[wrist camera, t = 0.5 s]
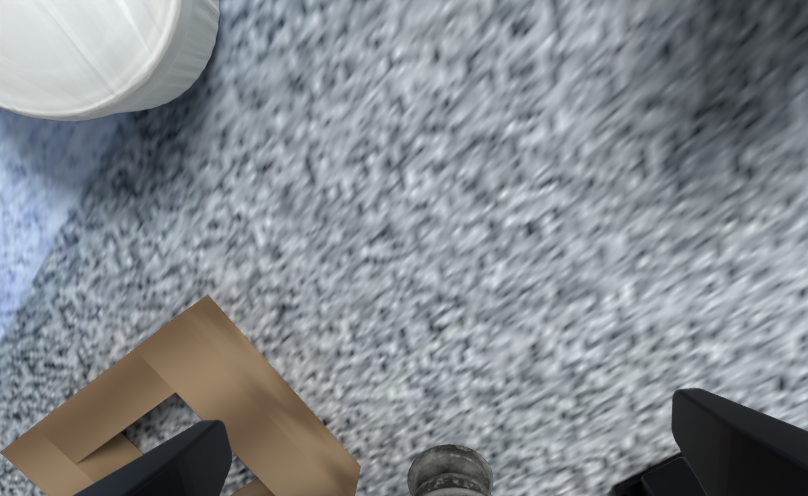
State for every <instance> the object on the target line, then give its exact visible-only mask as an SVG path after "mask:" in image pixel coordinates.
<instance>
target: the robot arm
mask: <svg viewBox="0 0 808 496" xmlns="http://www.w3.org/2000/svg"><path fill="white" fill-rule="evenodd" d="M671 426H672V433H673V436H674V439H675V441H676V443H677V445H678V446H679V448H680V450H681V452H682V453H681V454H679V455H677V456H675V457H673V458H671V459H669V460H667V461H665V462H663V463H661V464H659V465H657V466H655V467H653V468H651V469H649V470H647V471H645V472H643V473H641V474H639V475H637V476H635V477H633V478H631V479H629V480H628V481H626V482H624V483H622V484H620V485H618V486H616V487H615V488H614V490H613V493H614V495H615V496H808V431H806V430H804V429H801V428H799V427H796V426H793V425H791V424H788V423H786V422H783V421H781V420H778V419H776V418H773V417H771V416H768V415H766V414H763V413H761V412H758V411H756V410H753V409H751V408H748V407H746V406H743V405H741V404H738V403H736V402H733V401H731V400H728V399H726V398H723V397H720V396H718V395H715V394H713V393H710V392H708V391H705V390H703V389H700V388H690V389H678V390H676V391H675V392H674V394H673V399H672V425H671ZM231 463H232V450H231V446H230V442H229V438H228V434H227V430H226V426H225V424H224V422H223V421H222V420H219V419H217V420H203V421H200V422H198V423H197V424H195V425H193V426H192V427H190V428H188V429H186V430H185V431H183V432H181V433H180V434H178V435H176V436H174V437H173V438H171V439H169V440H167V441H166V442H164V443H162V444H161V445H159V446H157V447H155V448H154V449H152V450H150V451H149V452H147V453H145V454H143V455H142V456H140V457H138V458H136V459H135V460H133V461H131V462H130V463H128V464H126V465H124V466H123V467H121V468H119V469H118V470H116V471H114V472H112V473H111V474H109V475H107V476H105V477H104V478H102V479H100V480H99V481H97V482H95V483H93V484H92V485H90V486H88V487H87V488H85V489H83V490H81V491H80V492H78V493H76V494H74V495H73V496H219V495H220V493H221V490H222V487H223V485H224V482H225V480H226V477H227V474H228V472H229V469H230V466H231Z"/></svg>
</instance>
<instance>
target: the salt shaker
mask: <svg viewBox="0 0 808 496" xmlns="http://www.w3.org/2000/svg"><path fill="white" fill-rule="evenodd" d="M408 485H409V490H410V492H411V494H412V496H492V495H491V492H492V487H493V476H492V471H491V469H490V467H489V465H488V463H487V461H486V460H485V459H484V458H483V457H482V456H481V455H480V454H478V453H477V452H475V451H474V450H472V449H469V448H466V447H464V446H460V445H451V444H449V445H440V446H436V447H433V448H430V449H428V450H426V451H425V452H423V453H422V454H420V455H419V456H418V457H417V458H416V459H415V461H414V462H413V463H412V465H411V468H410V470H409V475H408Z"/></svg>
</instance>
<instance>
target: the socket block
mask: <svg viewBox="0 0 808 496" xmlns="http://www.w3.org/2000/svg"><path fill="white" fill-rule="evenodd" d="M175 392H176V393H177V394H178V395H179V396H180V397H181V398H182V399H183V400H184V401H185V402H186V403H187V404H188V405H189V406H190V407H191V409H192V410H193V411H194V412H195V413H196V414H197V415H198V416H199V417H200V418H201V419H202V420H217V419H219V420H222V421H223V422H224V424H225V426H226V430H227V434H228V438H229V442H230V446H231V450H232V451H233V452H234V453H235V454H236V455H237V456H238V457H239V458H240V459H241V460H242V462H243V463H244V464H245V465H246V466H247V467H248V468H249V469H250V470H251V471H252V472H253V473H254V474H255V475H256V476H257V477H258V478H257V479H256V480H254V481H252V482H251V483H249V484H248V485H246V486H244V487H243V488H241V489H240V490H238V491H237V492H235V493H233V494H232V495H230V496H355V493H356V488H357V483H358V477H359V472H360V467H361V466H360V465H359V464H358V463H357V462H356V461H355V459H354V458H353V457H352V456H351V455H350V454H349V453H348V452H347V450H346V449H345V448H344V447H343V446H342V445H341V444H340V443H339V442H338V440H337V439H336V438H335V437H334V436H333V435H332V434H331V433H330V431H329V430H328V429H327V428H326V427H325V426H324V425H323V424H322V422H321V421H320V420H319V419H318V418H317V417H316V416H315V415H314V413H313V412H312V411H311V410H310V409H309V408H308V407H307V406H306V404H305V403H304V402H303V401H302V400H301V399H300V398H299V397H298V395H297V394H296V393H295V392H294V391H293V390H292V389H291V388H290V387H289V385H288V384H287V383H286V382H285V381H284V380H283V379H282V378H281V376H280V375H279V374H278V373H277V372H276V371H275V370H274V369H273V367H272V366H271V365H270V364H269V363H268V362H267V361H266V360H265V358H264V357H263V356H262V355H261V354H260V353H259V352H258V351H257V349H256V348H255V347H254V346H253V345H252V344H251V343H250V342H249V340H248V339H247V338H246V337H245V336H244V335H243V334H242V333H241V332H240V330H239V329H238V328H237V327H236V326H235V325H234V324H233V323H232V321H231V320H230V319H229V318H228V317H227V316H226V315H225V314H224V312H223V311H222V310H221V309H220V308H219V307H218V306H217V305H216V303H215V302H214V301H213V300H212V299H211V298H210V297H209V296H208V295H207V296H206V297H204V298H203V299H201V300H200V301H198V302H197V303H195V304H194V305H193V306H191V307H190V308H188V309H187V310H185V311H184V312H182V313H181V314H180V315H178V316H177V317H175V318H174V319H173V320H171V321H170V322H169V323H167V324H166V325H165V326H164V327H162V328H161V329H160V330H158V331H157V332H156V333H154V334H153V335H152V336H151V337H149V338H148V339H147V340H145V341H144V342H143V343H141V344H140V345H139V346H138V347H136V348H135V349H134V350H132V351H131V352H130V353H128V354H127V355H126V356H125V357H123V358H122V359H121V360H119V361H118V362H117V363H115V364H114V365H113V366H112V367H110V368H109V369H108V370H106V371H105V372H104V373H102V374H101V375H100V376H99V377H97V378H96V379H95V380H93V381H92V382H91V383H89V384H88V385H87V386H86V387H84V388H83V389H82V390H80V391H79V392H78V393H76V394H75V395H74V396H73V397H71V398H70V399H69V400H67V401H66V402H65V403H63V404H62V405H61V406H60V407H58V408H57V409H56V410H54V411H53V412H52V413H50V414H49V415H48V416H47V417H45V418H44V419H43V420H41V421H40V422H39V423H37V424H36V425H35V426H34V427H32V428H31V429H30V430H28V431H27V432H26V433H24V434H23V435H22V436H21V437H19V438H18V439H17V440H15V441H14V442H13V443H11V444H10V445H9V446H8V447H6V448H5V449H4V450H2V451H1V452H0V453H1V454H2V455H3V456H4V457H6V458H7V459H8V460H9V461H10V462H11V463H12V464H13V465H14V466H16V467H17V468H18V469H19V470H20V471H21V472H22V473H23V474H24V475H26V476H27V477H28V478H29V479H30V480H31V481H32V482H33V483H34V484H36V485H37V486H38V487H39V488H40V489H41V490H42V491H43V492H44V493H46V494H47V495H48V496H73V495H74V494H76V493H78V492H80V491H81V490H83V489H85V488H87V487H88V486H90V485H92V484H93V483H95V482H97V481H99V480H100V479H102V478H104V477H105V476H107V475H109V474H111V473H112V472H114V471H116V470H118V469H119V468H121V467H123V466H124V465H126V464H128V463H130V462H131V461H133V460H135V459H136V458H138V457H140V456H142V455H143V454H142V453H141V452H140V451H139V450H138V449H137V448H136V447H135V446H134V445H133V444H132V443H131V442H130V441H129V440H128V439H127V438H126V437H125V436H124V435H123V434H122V433H121V431H122V430H124V429H125V428H126V427H128V426H129V425H131V424H132V423H133V422H135V421H136V420H138V419H139V418H140V417H142V416H143V415H144V414H146V413H147V412H149V411H150V410H151V409H153V408H154V407H156V406H157V405H158V404H160V403H161V402H163V401H164V400H165V399H167V398H168V397H170V396H171V395H172V394H174V393H175Z"/></svg>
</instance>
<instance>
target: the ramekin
mask: <svg viewBox="0 0 808 496" xmlns="http://www.w3.org/2000/svg"><path fill="white" fill-rule="evenodd" d="M219 16H220V12H219V0H0V108H3V109H5V110H8V111H11V112H14V113H17V114H20V115H23V116H28V117H33V118H40V119H47V120H58V121H82V120H91V119H96V118H101V117H105V116H108V115H111V114H114V113H123V112H133V111H141V110H145V109H152V108H155V107H158V106H160V105H162V104H166V103H168V102H170V101H171V100H173V99H175V98H177V97H179V96H180V95H181V94H182V93H183V92H184V91H186V90H187V89H189V88H190V87H191V86H192V84H193V83H194V82H195V81H196V80H197V79H198V78H199V76H200V74H201V73H202V71H203V70H204V69H205V67H206V65H207V62H208V60H209V59H210V57H211V54H212V50H213V48H214V46H215V42H216V35H217V32H218V21H219Z"/></svg>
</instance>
